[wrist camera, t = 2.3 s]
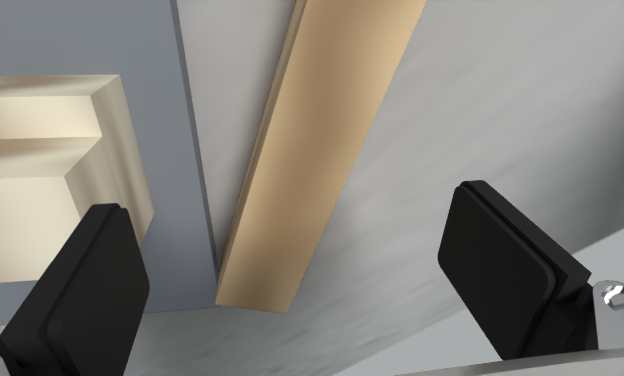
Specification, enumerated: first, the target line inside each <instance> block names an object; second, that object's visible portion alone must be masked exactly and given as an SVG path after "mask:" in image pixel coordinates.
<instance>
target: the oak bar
mask: <svg viewBox="0 0 624 376" xmlns="http://www.w3.org/2000/svg"><path fill="white" fill-rule="evenodd" d="M426 1H427V0H296V3H295V6H294V9H293V13H292V16H291V20H290V23H289V27H288V30H287V34H286V37H285V40H284V44H283V47H282V51H281V54H280V58H279V61H278V65H277V68H276V72H275V75H274V78H273V82H272V85H271V89H270V92H269V96H268V99H267V103H266V106H265V110H264V113H263V116H262V120H261V123H260V127H259V130H258V134H257V137H256V141H255V144H254V148H253V151H252V154H251V158H250V161H249V165H248V168H247V172H246V175H245V179H244V182H243V186H242V189H241V192H240V196H239V199H238V203H237V206H236V210H235V213H234V217H233V220H232V224H231V227H230V230H229V234H228V237H227V241H226V244H225V248H224V251H223V255H222V259H221V266H220V273H219V280H218V288H217V295H216V302H215V304H217V305H224V306H232V307H239V308H247V309H254V310H262V311H269V312H277V313H284V314H287V312H288V310H289V308H290V305H291V303H292V301H293V299H294V296H295V294H296V292H297V290H298V287H299V285H300V283H301V281H302V278H303V276H304V274H305V272H306V270H307V267H308V265H309V263H310V261H311V258H312V256H313V254H314V252H315V249H316V247H317V245H318V243H319V240H320V238H321V236H322V234H323V231H324V229H325V227H326V225H327V223H328V220H329V218H330V216H331V214H332V211H333V209H334V207H335V205H336V202H337V200H338V198H339V196H340V193H341V191H342V189H343V187H344V185H345V182H346V180H347V178H348V176H349V173H350V171H351V169H352V167H353V164H354V162H355V160H356V158H357V155H358V153H359V151H360V149H361V146H362V144H363V142H364V140H365V138H366V135H367V133H368V131H369V129H370V126H371V124H372V122H373V120H374V117H375V115H376V113H377V111H378V108H379V106H380V104H381V102H382V99H383V97H384V95H385V93H386V91H387V88H388V86H389V84H390V82H391V79H392V77H393V75H394V73H395V70H396V68H397V66H398V64H399V61H400V59H401V57H402V55H403V53H404V50H405V48H406V46H407V44H408V41H409V39H410V37H411V35H412V32H413V30H414V28H415V26H416V23H417V21H418V19H419V17H420V14H421V12H422V10H423V8H424V6H425V3H426Z"/></svg>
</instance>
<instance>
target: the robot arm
mask: <svg viewBox="0 0 624 376" xmlns="http://www.w3.org/2000/svg"><path fill="white" fill-rule="evenodd" d="M438 263H439V265H440V267H441V269H442V270H443V272H444V273H445V275H446V276H447V278H448V279H449V281H450V282H451V284H452V285H453V287H454V288H455V290H456V291H457V293H458V294H459V296H460V297H461V299H462V300H463V302H464V303H465V305H466V306H467V308H468V309H469V311H470V312H471V314H472V315H473V317H474V318H475V320H476V321H477V323H478V324H479V326H480V328H481V329H482V331H483V332H484V333H485V335H486V337H487V338H488V339H489V341H490V343H491V344H492V346H493V347H494V349H495V350H496V352H497V353H498V355H499V356H500V358H501V359H502V360H503V361H498V362H491V363H483V364H476V365H469V366H461V367H454V368H446V369H439V370H432V371H424V372H418V373H410V374H403V375H396V376H624V283H622V282H618V281H607V280H606V281H601V282H598V283H597V284H595V285H594V287H592V286H591V285H590V284H588V283H587V281H588V279H589V277H590V276H591V274H592V273H591V272H590V271H589V270H587V269H586V268H585V267H584V266H583V265H582V264H580V263H579V262H578V261H577V260H576V259H575V258H573V257H572V256H571V255H570V254H569V253H568V252H567V251H565V250H564V249H563V248H562V247H561V246H560V245H559V244H557V243H556V242H555V241H554V240H553V239H552V238H550V237H549V236H548V235H547V234H546V233H545V232H543V231H542V230H541V229H540V228H539V227H538V226H536V225H535V224H534V223H533V222H532V221H531V220H529V219H528V218H527V217H526V216H525V215H524V214H522V213H521V212H520V211H519V210H518V209H517V208H516V207H514V206H513V205H512V204H511V203H510V202H509V201H507V200H506V199H505V198H504V197H503V196H502V195H500V194H499V193H498V192H497V191H496V190H495V189H493V188H492V187H491V186H490V185H489V184H488V183H486V182H485V181H483V180H476V181H464V182H462V183H461V184H460V186H458V187H456V189H455V191H454V194H453V198H452V202H451V206H450V210H449V213H448V217H447V221H446V225H445V229H444V233H443V236H442V240H441V244H440V248H439V252H438ZM149 290H150V284H149V279H148V276H147V272H146V269H145V266H144V262H143V259H142V255H141V252H140V249H139V245H138V242H137V239H136V235H135V232H134V228H133V225H132V222H131V218H130V215H129V212H128V210H127V208H121V207H120V205H119V204H118V203H106V204H93V205H92V206H91V207H90V208H89V209H88V211H87V212H86V214H85V215H84V217H83V218H82V219H81V221H80V222H79V224H78V225H77V227H76V228H75V229H74V231H73V232H72V234H71V235H70V237H69V238H68V239H67V241H66V242H65V244H64V245H63V247H62V248H61V250H60V251H59V252H58V254H57V255H56V257H55V258H54V260H53V261H52V262H51V263H50V264H49V266H48V267H47V269H46V270H45V272H44V273H43V274H42V276H41V277H40V279H39V280H38V282H37V283H36V284H35V286H34V287H33V289H32V290H31V292H30V293H29V294H28V296H27V297H26V299H25V300H24V302H23V303H22V304H21V306H20V307H19V309H18V310H17V312H16V313H15V314H14V316H13V317H12V319H11V320H10V322H9V323H8V324H7V326H6V327H5V329H4V330H3V332H2V333H1V334H0V376H123V374H124V371H125V368H126V365H127V362H128V358H129V355H130V352H131V349H132V346H133V343H134V340H135V336H136V333H137V330H138V327H139V324H140V321H141V318H142V314H143V311H144V308H145V305H146V302H147V299H148V296H149Z"/></svg>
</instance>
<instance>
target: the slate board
mask: <svg viewBox="0 0 624 376" xmlns="http://www.w3.org/2000/svg"><path fill="white" fill-rule="evenodd" d="M13 75H120V78H121V82H122V86H123V90H124V94H125V98H126V102H127V106H128V109H129V113H130V117H131V121H132V125H133V129H134V133H135V137H136V141H137V145H138V149H139V153H140V156H141V160H142V164H143V168H144V172H145V176H146V180H147V184H148V188H149V192H150V196H151V199H152V203H153V207H154V211H155V213H154V216H153V218H152V220H151V222H150V225H149V227H148V229H147V231H146V234H145V236H144V238H143V240H142V243H141V245H140V247H139V249H140V252H141V255H142V259H143V262H144V266H145V269H146V272H147V276H148V279H149V284H150V290H149V296H148V299H147V302H146V305H145V308H144V311H143V313H155V312H167V311H179V310H191V309H203V308H215V307H221V305H217V304H215V302H216V295H217V288H218V280H219V269H218V262H217V256H216V250H215V243H214V237H213V231H212V224H211V218H210V212H209V205H208V199H207V193H206V186H205V180H204V174H203V167H202V161H201V155H200V148H199V142H198V136H197V129H196V123H195V117H194V110H193V104H192V98H191V91H190V85H189V79H188V72H187V66H186V60H185V53H184V47H183V41H182V34H181V28H180V21H179V15H178V9H177V2H176V0H0V76H13ZM37 282H38V280H30V281H16V282H2V283H0V325H7V324H8V323H9V322H10V320H11V319H12V317H13V316H14V314H15V313H16V312H17V310H18V309H19V307H20V306H21V304H22V303H23V302H24V300H25V299H26V297H27V296H28V294H29V293H30V292H31V290H32V289H33V287H34V286H35V284H36V283H37Z"/></svg>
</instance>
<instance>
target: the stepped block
mask: <svg viewBox="0 0 624 376" xmlns="http://www.w3.org/2000/svg"><path fill="white" fill-rule="evenodd" d="M106 203H118V204H119V205H120V207H121V208H127V210H128V212H129V215H130V218H131V222H132V225H133V228H134V232H135V235H136V239H137V242H138V245H139V247H140V245H141V243H142V240H143V238H144V236H145V234H146V231H147V229H148V227H149V225H150V222H151V220H152V218H153V216H154V213H155V211H154V207H153V203H152V199H151V196H150V192H149V188H148V184H147V180H146V176H145V172H144V168H143V164H142V160H141V156H140V153H139V149H138V145H137V141H136V137H135V133H134V129H133V125H132V121H131V117H130V113H129V109H128V106H127V102H126V98H125V94H124V90H123V86H122V82H121V78H120V75H13V76H0V283H2V282H16V281H30V280H39V279H40V277H41V276H42V274H43V273H44V272H45V270H46V269H47V267H48V266H49V264H50V263H51V262H52V261H53V260H54V258H55V257H56V255H57V254H58V252H59V251H60V250H61V248H62V247H63V245H64V244H65V242H66V241H67V239H68V238H69V237H70V235H71V234H72V232H73V231H74V229H75V228H76V227H77V225H78V224H79V222H80V221H81V219H82V218H83V217H84V215H85V214H86V212H87V211H88V209H89V208H90V207H91V206H92V205H93V204H106Z"/></svg>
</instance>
